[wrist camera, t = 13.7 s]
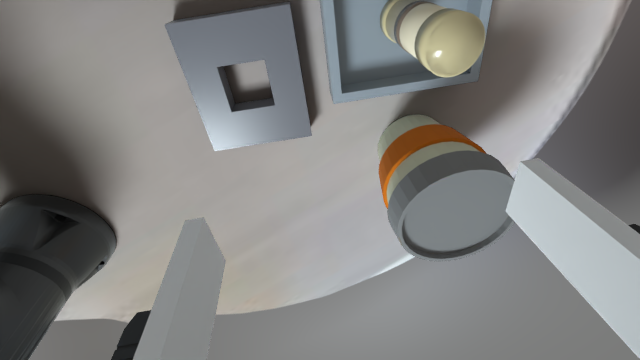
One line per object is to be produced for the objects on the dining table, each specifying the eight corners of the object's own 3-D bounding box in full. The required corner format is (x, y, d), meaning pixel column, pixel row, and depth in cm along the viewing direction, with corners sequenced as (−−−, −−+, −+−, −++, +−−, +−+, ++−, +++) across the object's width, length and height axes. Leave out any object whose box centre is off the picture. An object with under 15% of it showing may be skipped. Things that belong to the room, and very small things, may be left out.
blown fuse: (418, 36, 32) (479, 72, 22) (379, 43, 32) (422, 81, 22) (421, -9, 30) (490, 7, 19) (379, -2, 30) (426, 17, 20)
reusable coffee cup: (385, 90, 36) (432, 154, 24) (473, 113, 39) (555, 180, 27) (352, 173, 43) (375, 255, 31) (429, 188, 46) (478, 268, 34)
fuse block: (310, 126, 39) (311, 135, 36) (218, 141, 39) (214, 151, 37) (289, 1, 30) (289, 4, 28) (172, 20, 30) (164, 24, 28)
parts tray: (463, 71, 36) (477, 81, 33) (330, 92, 36) (333, 103, 33) (485, -83, 28) (508, -88, 25) (313, -54, 28) (315, -56, 25)
